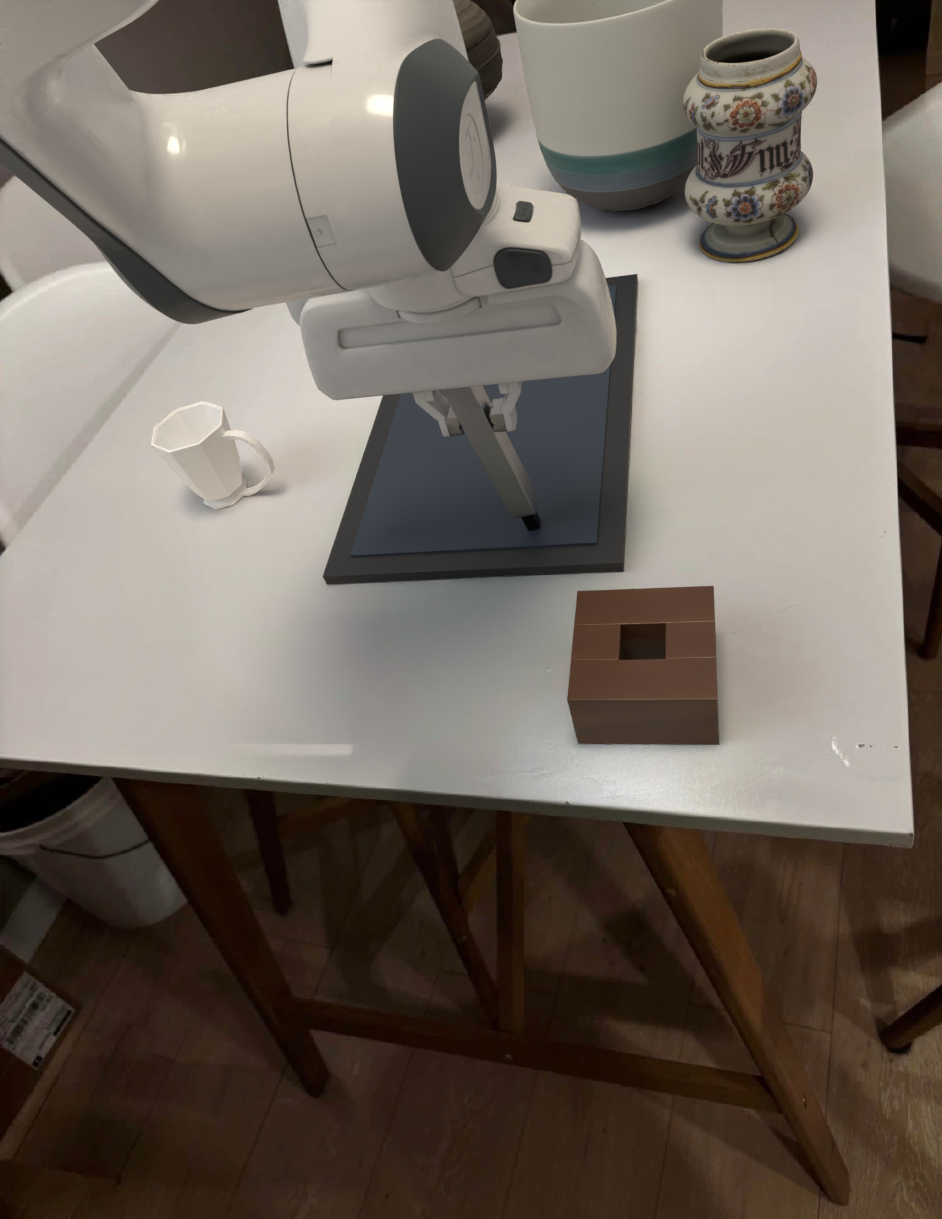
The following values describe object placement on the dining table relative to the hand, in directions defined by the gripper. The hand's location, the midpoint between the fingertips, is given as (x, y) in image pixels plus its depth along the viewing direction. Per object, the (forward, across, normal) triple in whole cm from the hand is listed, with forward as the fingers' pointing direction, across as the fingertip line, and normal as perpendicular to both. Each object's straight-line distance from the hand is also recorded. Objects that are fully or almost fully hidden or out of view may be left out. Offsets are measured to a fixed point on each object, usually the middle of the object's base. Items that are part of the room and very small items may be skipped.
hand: (481, 428), depth 63 cm
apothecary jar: (+12, +20, +42) cm, 48 cm away
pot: (+12, -18, +80) cm, 83 cm away
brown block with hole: (+11, +11, -15) cm, 21 cm away
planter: (+12, +8, +55) cm, 57 cm away
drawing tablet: (+11, -3, +16) cm, 20 cm away
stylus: (+10, +2, 0) cm, 10 cm away
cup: (+11, -27, +8) cm, 30 cm away
